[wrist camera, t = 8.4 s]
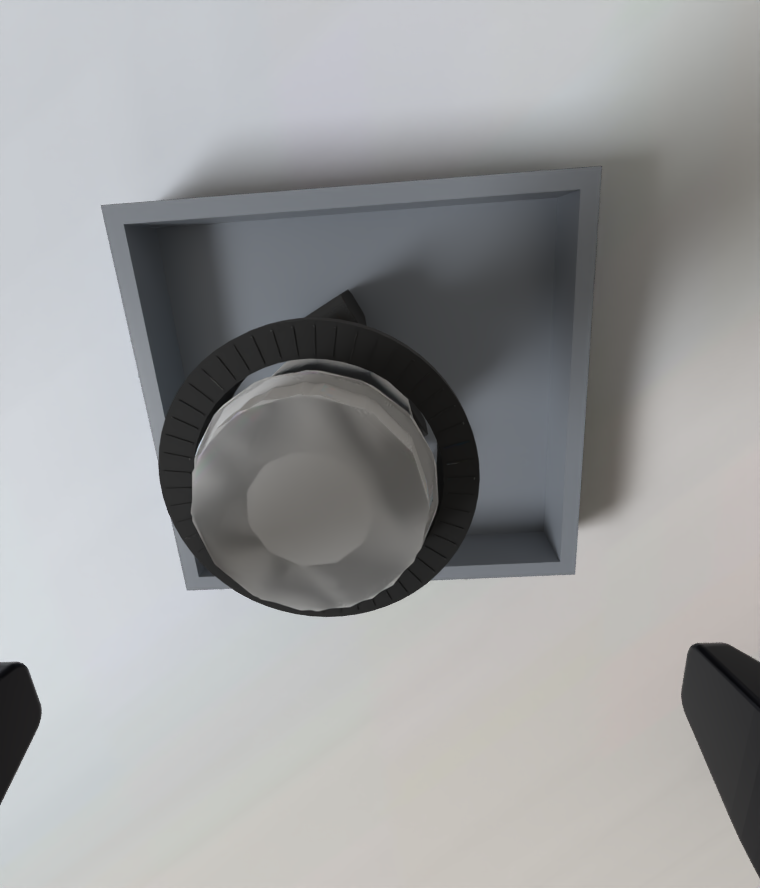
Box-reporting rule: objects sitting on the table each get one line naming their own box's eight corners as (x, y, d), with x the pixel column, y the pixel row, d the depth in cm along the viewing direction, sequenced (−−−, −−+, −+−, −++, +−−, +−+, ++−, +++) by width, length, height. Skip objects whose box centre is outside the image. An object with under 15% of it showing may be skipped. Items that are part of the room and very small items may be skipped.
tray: (570, 179, 16) (602, 165, 13) (553, 536, 20) (575, 574, 17) (143, 212, 16) (100, 205, 14) (211, 551, 20) (186, 590, 18)
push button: (486, 430, 18) (589, 627, 8) (353, 504, 19) (312, 752, 9) (382, 252, 16) (365, 246, 7) (242, 344, 17) (54, 454, 8)
